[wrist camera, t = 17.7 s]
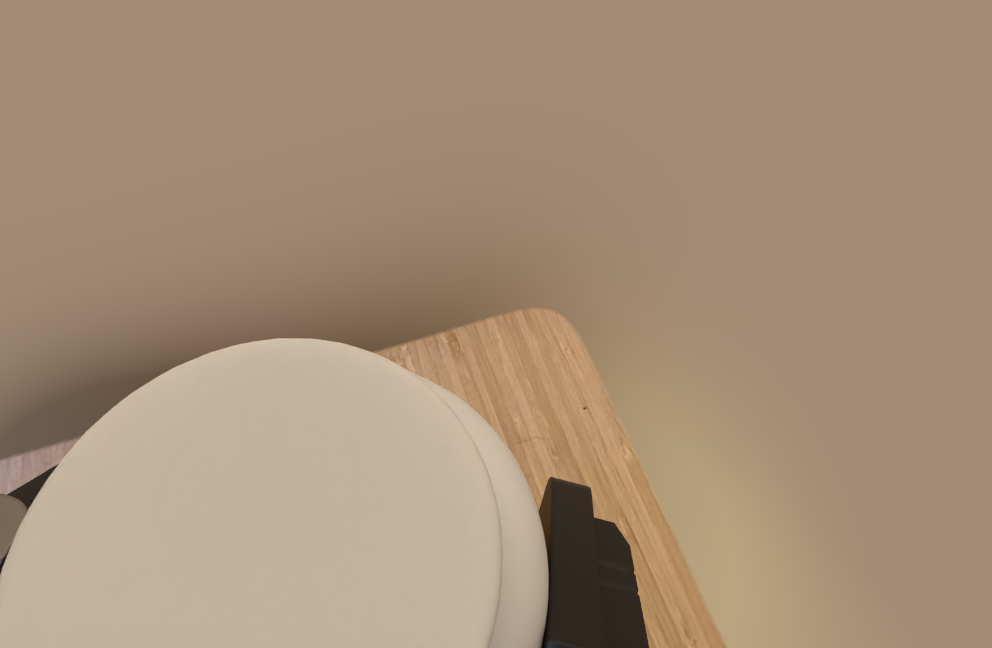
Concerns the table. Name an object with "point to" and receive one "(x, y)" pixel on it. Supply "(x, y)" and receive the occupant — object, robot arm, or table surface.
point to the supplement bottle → (281, 516)
